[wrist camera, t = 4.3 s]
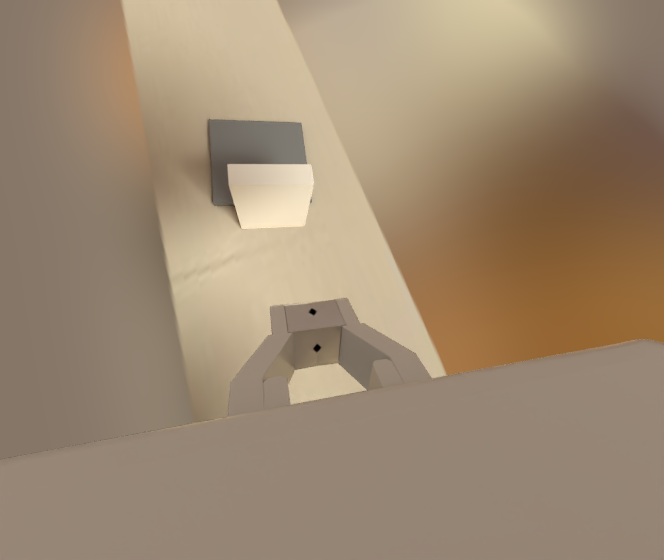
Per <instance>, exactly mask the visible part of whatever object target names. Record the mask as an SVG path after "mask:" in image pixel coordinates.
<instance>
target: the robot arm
mask: <svg viewBox="0 0 664 560" xmlns="http://www.w3.org/2000/svg"><path fill="white" fill-rule="evenodd" d="M270 316H271V329H272V335H268V336H267V337H266V339H265V340H264V341H263V342H262V344H261V345H260V346H259V347H258V349H257V350H256V351H255V353H254V354H253V355H252V356H251V358H250V359H249V360H248V361H247V363H246V364H245V365H244V366H243V368H242V369H241V370H240V371H239V373H238V374H237V375H236V376H235V378H234V379H233V380H232V382H231V383H230V394H229V404H228V415H227V417H223V418H218V419H213V420H207V421H202V422H196V423H191V424H187V425H180V426H175V427H170V428H164V429H160V430H154V431H149V432H143V433H138V434H133V435H127V436H122V437H116V438H111V439H106V440H100V441H95V442H90V443H84V444H79V445H74V446H68V447H63V448H58V449H52V450H47V451H41V452H36V453H31V454H25V455H20V456H15V457H9V458H4V459H0V560H664V343H661V342H657V341H652V340H647V339H640V340H632V341H628V342H623V343H618V344H613V345H607V346H602V347H597V348H592V349H586V350H582V351H576V352H570V353H565V354H560V355H554V356H549V357H543V358H539V359H533V360H527V361H522V362H517V363H512V364H506V365H501V366H496V367H490V368H485V369H480V370H475V371H469V372H463V373H458V374H453V375H447V376H442V377H437V378H431V376H430V375H429V373H428V372H427V370H426V369H425V367H424V366H423V364H422V362H421V361H420V359H419V358H418V356H417V355H416V353H414V352H412V351H411V350H409V349H407V348H405V347H404V346H402V345H400V344H399V343H397V342H395V341H393V340H392V339H390V338H388V337H387V336H385V335H383V334H381V333H380V332H378V331H376V330H375V329H373V328H371V327H369V326H368V325H366V324H364V323H361V324H360V322H359V320H358V318H357V316H356V314H355V312H354V310H353V308H352V306H351V304H350V302H349V300H348V299H347V298H341V299H334V300H328V301H319V302H307V303H295V304H284V305H274V306H270ZM334 363H339V365H341V366H342V367H343V368H344V369H345V370H346V371H347V372H348V373H349V374H350V375H351V376H353V377H354V378H355V379H356V380H357V381H358V382H359V383H360V384H361V385H362V386H363V387H364V388H366V389H367V391H362V392H356V393H351V394H346V395H340V396H335V397H330V398H324V399H319V400H314V401H308V402H303V403H298V404H292V405H290V398H289V390H288V383H289V381H290V379H291V377H292V375H293V373H294V370H297V369H302V368H307V367H313V366H319V365H327V364H334Z"/></svg>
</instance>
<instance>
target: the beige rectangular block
mask: <svg viewBox="0 0 664 560" xmlns="http://www.w3.org/2000/svg"><path fill="white" fill-rule="evenodd" d="M227 166H228V182H229V188H230V191H231V195H232V198H233V201H234V205H235V208H236V212H237V215H238V218H239V222H240V225H241V229H253V228H274V227H296V226H305V221H306V217H307V212H308V208H309V204H310V199H311V195H312V191H313V186H314V180H313V173H312V166H311V164H227Z"/></svg>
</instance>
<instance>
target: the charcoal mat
mask: <svg viewBox="0 0 664 560" xmlns="http://www.w3.org/2000/svg"><path fill="white" fill-rule="evenodd" d="M209 129H210V149H211V169H212V189H213V204H214V206H218V205H234V201H233V198H232V195H231V191H230V188H229V182H228V166H227V164H307V162H306V154H305V147H304V139H303V132H302V125H301V123H291V122H264V121H237V120H211V119H209ZM311 202H312V199H310V203H311Z"/></svg>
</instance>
